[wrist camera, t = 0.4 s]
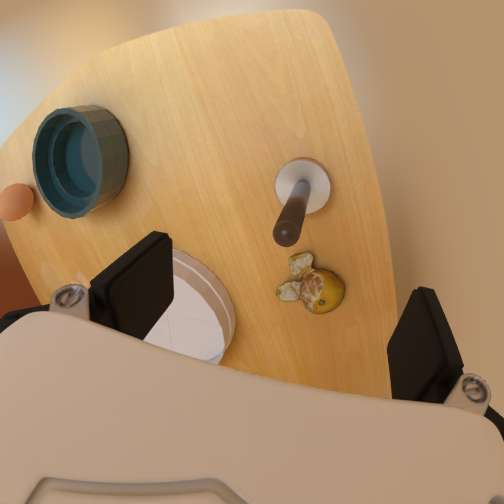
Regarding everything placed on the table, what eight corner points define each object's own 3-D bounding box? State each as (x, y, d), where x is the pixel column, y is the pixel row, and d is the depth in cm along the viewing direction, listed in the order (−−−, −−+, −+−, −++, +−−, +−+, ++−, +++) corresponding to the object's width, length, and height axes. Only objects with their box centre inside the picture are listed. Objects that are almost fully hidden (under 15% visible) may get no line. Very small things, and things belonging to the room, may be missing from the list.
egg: (23, 173, 43) (-13, 188, 35) (41, 184, 43) (3, 200, 35) (22, 203, 46) (-11, 220, 38) (40, 215, 46) (6, 234, 38)
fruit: (294, 245, 37) (290, 258, 33) (356, 268, 36) (358, 283, 33) (274, 296, 41) (269, 312, 37) (330, 316, 40) (329, 333, 37)
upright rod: (282, 152, 32) (243, 184, 18) (335, 163, 31) (341, 203, 17) (274, 202, 35) (234, 268, 21) (325, 213, 34) (320, 287, 20)
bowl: (59, 108, 36) (31, 113, 30) (132, 102, 33) (103, 104, 28) (62, 199, 43) (37, 211, 38) (131, 211, 40) (105, 227, 35)
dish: (234, 369, 49) (226, 391, 45) (127, 338, 54) (114, 354, 49) (238, 257, 39) (226, 276, 35) (105, 234, 43) (86, 248, 39)
